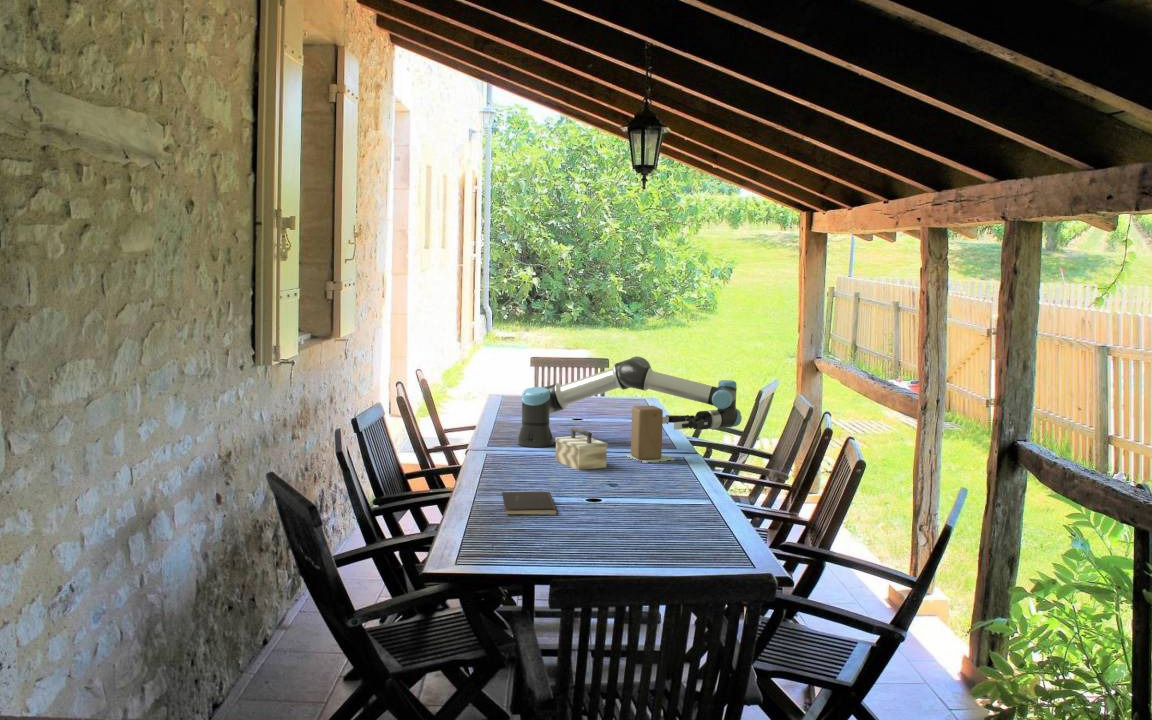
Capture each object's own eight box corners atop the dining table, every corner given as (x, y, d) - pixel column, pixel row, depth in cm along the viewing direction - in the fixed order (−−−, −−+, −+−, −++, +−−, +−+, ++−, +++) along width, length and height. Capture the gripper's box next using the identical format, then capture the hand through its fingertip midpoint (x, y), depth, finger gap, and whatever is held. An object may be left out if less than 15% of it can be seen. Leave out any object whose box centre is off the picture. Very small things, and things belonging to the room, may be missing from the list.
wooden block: (662, 459, 396) (663, 409, 394) (638, 460, 393) (639, 409, 391) (653, 454, 405) (654, 405, 403) (629, 455, 402) (631, 405, 400)
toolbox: (554, 460, 391) (555, 426, 390) (583, 458, 398) (584, 424, 396) (578, 470, 376) (579, 434, 374) (608, 467, 382) (609, 432, 381)
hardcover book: (505, 516, 309) (505, 509, 309) (501, 498, 332) (501, 492, 332) (557, 516, 311) (557, 508, 311) (550, 498, 334) (550, 491, 334)
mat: (626, 456, 403) (626, 455, 403) (654, 453, 410) (654, 452, 410) (645, 463, 391) (645, 461, 391) (675, 460, 398) (675, 458, 398)
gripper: (726, 433, 400) (682, 437, 390) (689, 424, 422) (646, 427, 411) (726, 415, 400) (683, 418, 389) (689, 406, 421) (647, 409, 411)
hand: (664, 423), depth 400 cm, fingers open, 13 cm apart
